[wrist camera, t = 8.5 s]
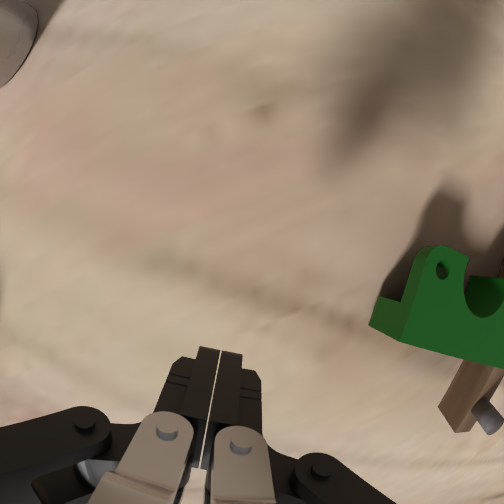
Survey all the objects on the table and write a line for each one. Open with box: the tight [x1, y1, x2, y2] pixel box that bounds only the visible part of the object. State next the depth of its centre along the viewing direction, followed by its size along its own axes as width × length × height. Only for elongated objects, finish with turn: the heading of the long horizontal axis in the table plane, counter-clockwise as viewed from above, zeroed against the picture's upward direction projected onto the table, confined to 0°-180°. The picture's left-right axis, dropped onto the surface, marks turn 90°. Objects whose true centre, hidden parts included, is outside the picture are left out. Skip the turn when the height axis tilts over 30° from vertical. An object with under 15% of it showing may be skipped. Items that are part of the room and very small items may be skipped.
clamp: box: [368, 246, 504, 369], centre depth 18 cm, size 12×6×9 cm, turn 64°
